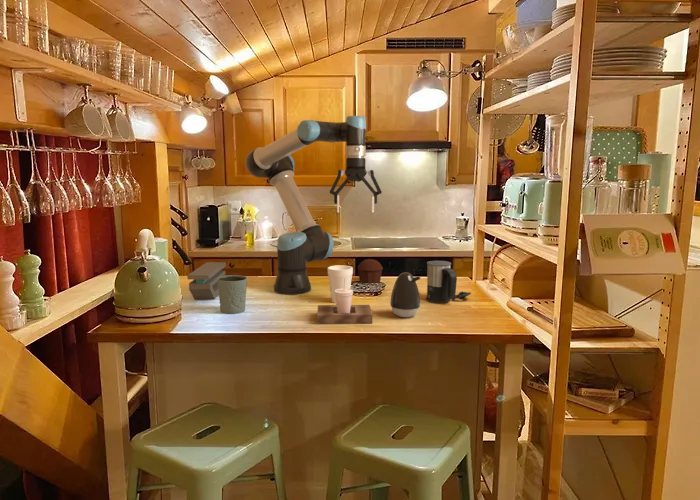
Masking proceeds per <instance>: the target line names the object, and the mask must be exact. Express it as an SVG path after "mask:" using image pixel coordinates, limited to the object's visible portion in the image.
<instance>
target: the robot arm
mask: <svg viewBox="0 0 700 500" xmlns="http://www.w3.org/2000/svg"><path fill="white" fill-rule="evenodd" d="M366 136H367V124H366V117H365V116H362V115H348V116H347V117H346V119H345V121H344V122H342V121H339V122H336V121H335V122H332V121H321V120H313V119H308V120H307V119H306V120H305V119H304V120H301V122H299V124H298V125H297V128H295V129H294V130H292V131H290V132H289V133H287V134H285V135H283V136H282V137H280V138H278V139H276V140H274V141H273V142H271V143H269V144H267V145H265V146H263V147H262V146H259V147H256V148H254V149H253V150H251V151H250V152H249V153H248V154H247V155H246V157H245V162H244V164H245V169H246V170H247V172H248V173H249V174H250V175H251V176H253V177H255V178H260V179H261V178H262V179H265V178H267V180H268V182H269V185H270V186H273V187H275V189H276V191H277V193H278V195H279V197H280V199H281V201H282V203H283V205H284V207H285V209H286V211H287V214H288V216H289V218H290V220H291V222H292V224H293V226H294V228H295V230H296V231H293V232H292V231H291V232H286V233H283V234H281V235H279V236H278V237H277V246H276V248H277V249H276V250H277V274H276V277H275V282H274V284H273V292H275V293H277V294H280V295H300V294H306V293H309V292H311V290H312V284H311V281H310V279H309V275H308V272H307V263H311V262H316V261H322V260H325V259H327V258H329V257H330V256H331V255H332V254H333V251H334V248H335V247H334V245H335V242H334V239H333V236H332V235H331V233H330V232H327V231H323V228H322V227H321V225H320V224H319V223H318V224H317V223H316V222H315V220H314V218H313V216H312V214H311V212H310V211H309V208H308V206H307V204H306V201H305V200H304V198H303V196H302V194H301V192H300V190H299V188H298V186H297V184H296V181H295V180H294V176H295V168H296V167H295V166H296V164H295V161H294V158H293V156H292V154H294V153H296V152H298V151H300V150H301V149H304V148H306V147H308V146H310V145H312V144H314V143H316V142H325V143H345V156H346V158H345V170H341V169H339V170H338V171H337V176H336V178H335V180H334V182H333V184H332V185H331V188H330V190H329V194H330V195H333V198H334V201H333V202H334V205H335V204H336V208H337V209H336V213H338V214H339V213H340V195H339V193H340V192H342V190H343V188H344V187H345V186H346V185H347V184H348V183H349V182H353V183H354V182H361V181H362V182H363V183H364V185H365V186H366V187H367V188H368V189H369V191H370V192H371V193H372V195H371V213H375V205H376V204H378V196H379V195H381V194H382V192H383V191H382V189H381V187H380V185H379V183H378V181H377V178H375V174H374V170H373V169H371V170H367V169H366V161H367V159H366V158H365V157H366V155H367V154H366V148H367V147H366V146H367V145H366ZM344 174H345V176H346V178H345V180H344V181H343V182H342V183H341V184H340V185H339V187H338V188H337V189H336V187H337V185H338V183H339V181H340V179H341V177H343V175H344ZM366 175H368V176H370V179H371V181H372V183H373V185H374V187H375V189H376V190H375V189H374V187H372V185H371V184H370V183H369V182H368V180H367V179H366V178H365V177H366Z"/></svg>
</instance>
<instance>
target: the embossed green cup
mask: <svg viewBox="0 0 700 500" xmlns="http://www.w3.org/2000/svg"><path fill="white" fill-rule="evenodd" d="M247 284H248V277H247V276H245V275H241V274H240V275H239V274H228V275H226V274H225V276H221V277H219V278H218V288H219V296H218V299H219V300H218V301H219V304H220V305H219V311H220V313H221V314H223V313H224V314H223V315H237V314H241V313H244V312H245V310H246V300H247V299H246V298H247Z"/></svg>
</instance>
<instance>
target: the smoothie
mask: <svg viewBox="0 0 700 500" xmlns="http://www.w3.org/2000/svg"><path fill="white" fill-rule="evenodd" d="M334 294H335V297H336V303H335V305H337V312H338V313H350V308H351V305H352V299H353V295H354V290H353V289H351V288H350V289H346V278H344V289H336V290H335V291H334Z"/></svg>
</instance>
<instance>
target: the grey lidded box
mask: <svg viewBox="0 0 700 500" xmlns="http://www.w3.org/2000/svg"><path fill="white" fill-rule="evenodd" d="M225 267H227V264H226V262H225V261H224V262H221V261H220V262H219V261H218V262H216V261H209V262H208V261H206V262H205V263H203V264H202V265H201V266H199V267H198V268H196V269H195V270H193V271H192V272H190V273H189V274H187V280H191V281H190V282H189V283H188V289H189V292H190V294H191V296H192V297H193V299H194V300H216V299H217V298H219V288H218V278H219V277H221V276H226V270H223V269H224V268H225Z"/></svg>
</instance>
